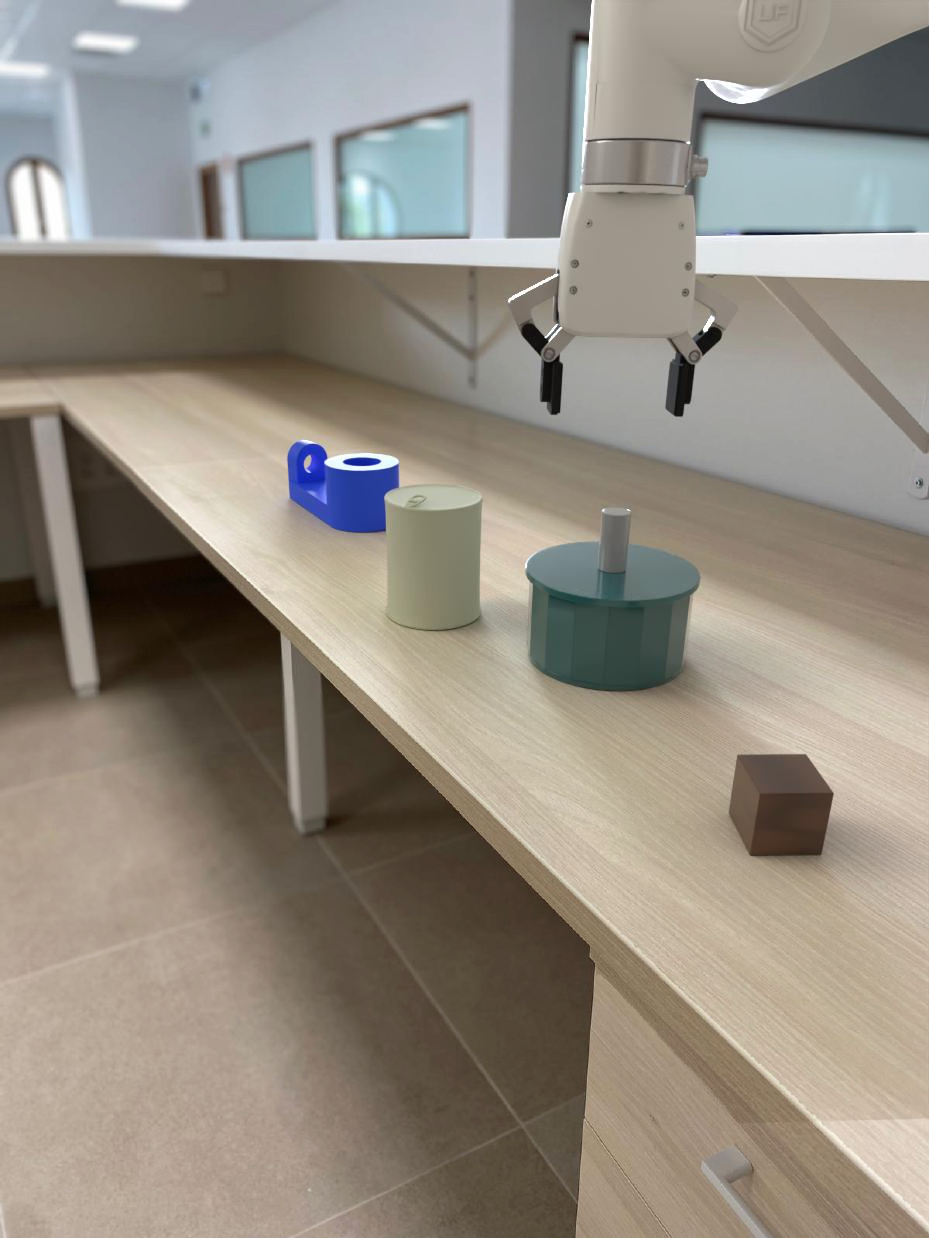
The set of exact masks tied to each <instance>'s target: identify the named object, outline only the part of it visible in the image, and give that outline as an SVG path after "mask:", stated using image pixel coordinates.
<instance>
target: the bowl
mask: <svg viewBox="0 0 929 1238" xmlns="http://www.w3.org/2000/svg"><path fill="white" fill-rule="evenodd" d="M528 582H529V583H528V604H527V605H528V607H527V627H526V628H527V629H526V646H527V656H528V659H529V661H530V662H531V663H532V665H533V666H534V667H535V668H536V669H538V670H539V671H540V672H542V673H543V674H545V675H546V676H549V677H550V678H552V679H555V680H557V681H559V682H562V683H565V684H568V685H572V686H576V687H581V688H585V689H592V690H597V691H598V690H599V691H610V692H611V691H615V692H622V691H624V692H625V691H637V690H644V689H651V688H654V687H658V686H661V685H664V684H666V683H668V682H670V681H673V680H674V679H675V678H677V677H678V676H679V675H680V673H682V671H683V669H684V666H685V661H686V658H687V651H688V643H689V634H690V626H691V619H692V618H691V617H692V610H693V602H694V594H695V592H694V593H693V594H692V595H690V596H689V597H687V598H685V599H682V600H680V601H676V602H673V603H669V604H664V605H658V606H650V607H631V608H626V607H606V606H597V605H590V604H584V603H578V602H574V601H570V600H566V599H563V598H559V597H557V596H554V595H551V594H549V593H547V592H544V591H542V590H541V589H539V588H537V587H536V586H534V585H533V584H532V583H531V582H530V581H529V580H528Z"/></svg>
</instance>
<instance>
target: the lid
mask: <svg viewBox="0 0 929 1238" xmlns="http://www.w3.org/2000/svg"><path fill="white" fill-rule="evenodd" d="M600 517H601V518H600V533H599V541H577V542H568V543H563V544H557V545H552V546H549V547H545V548H543V549H541V550H538V551H537V552H535V553H533V554H531V555H530V556H529V557H528V559H527V560H526V562H525V564H524V565H525V569H524V571H525V572H524V573H525V576H526V578H527V580H528V582H529V581H530V582H531V583H532V584H533V585H534V586H536V587H537V588H539V589H541V590H542V591H544V592H547V593H549V594H551V595H554V596H557V597H559V598H563V599H566V600H570V601H574V602H578V603H584V604H590V605H597V606H606V607H626V608H631V607H650V606H658V605H664V604H669V603H673V602H676V601H680V600H682V599H685V598H687V597H689V596H690V595H692V594H693V593H694V594H695V593H696V592H697V590H698V589H699V587H700V584H701V573H700V570H699V569H698V568H697V566H695V565H694V564H693V563H692V562H690V561H689V560H688V559H685V558H684V557H682V556H680V555H677V554H675V553H671V552H669V551H666V550H663V549H659V548H655V547H651V546H647V545H642V544H635V543H630V533H631V522H632V511H631V510H629V509H627V508H624V507H615V506H614V507H613V506H612V507H606V508H605V507H604V508H603V509H602V510H601V516H600ZM694 594H693V595H694Z"/></svg>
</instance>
